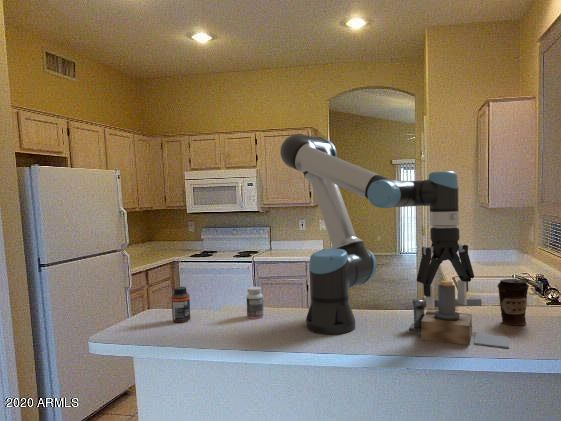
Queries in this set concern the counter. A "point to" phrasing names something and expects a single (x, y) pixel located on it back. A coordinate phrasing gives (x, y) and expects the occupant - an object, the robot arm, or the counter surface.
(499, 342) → the mat
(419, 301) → the grey long bar
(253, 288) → the pill bottle
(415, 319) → the post
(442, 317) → the plug
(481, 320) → the counter surface
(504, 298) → the coffee cup
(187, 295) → the supplement bottle
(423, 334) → the socket
